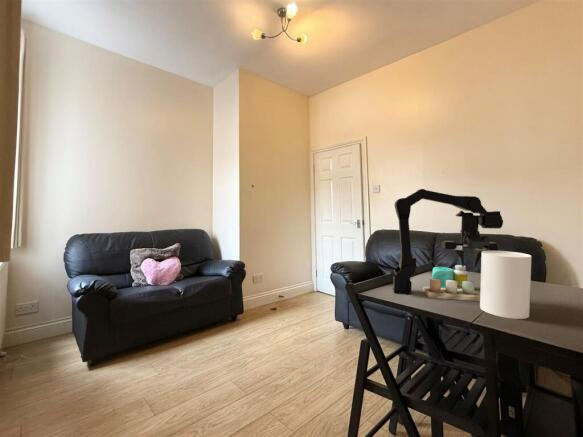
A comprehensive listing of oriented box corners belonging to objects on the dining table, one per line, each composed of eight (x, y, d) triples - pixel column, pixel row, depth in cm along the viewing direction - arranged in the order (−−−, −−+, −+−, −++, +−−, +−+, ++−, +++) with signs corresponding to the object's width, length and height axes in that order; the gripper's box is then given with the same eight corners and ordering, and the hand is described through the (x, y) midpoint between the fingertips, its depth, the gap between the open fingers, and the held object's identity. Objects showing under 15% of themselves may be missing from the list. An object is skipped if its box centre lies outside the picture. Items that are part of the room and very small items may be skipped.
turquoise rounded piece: (431, 286, 125) (432, 269, 125) (433, 282, 132) (433, 266, 132) (452, 289, 121) (452, 271, 121) (452, 285, 128) (453, 268, 127)
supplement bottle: (469, 289, 120) (469, 267, 120) (455, 289, 122) (455, 266, 121) (463, 286, 126) (464, 264, 125) (450, 285, 127) (451, 264, 126)
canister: (503, 303, 104) (504, 250, 103) (540, 317, 90) (542, 256, 89) (470, 305, 102) (472, 251, 101) (503, 320, 88) (506, 257, 88)
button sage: (464, 293, 110) (464, 283, 110) (460, 290, 114) (460, 280, 113) (475, 294, 109) (475, 284, 109) (471, 291, 113) (471, 281, 112)
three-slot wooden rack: (428, 297, 110) (428, 293, 110) (423, 290, 120) (423, 286, 120) (482, 301, 106) (483, 297, 106) (472, 293, 115) (473, 289, 115)
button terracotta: (431, 290, 113) (431, 281, 113) (428, 288, 117) (428, 278, 116) (441, 291, 112) (442, 281, 112) (439, 288, 116) (439, 279, 115)
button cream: (447, 292, 111) (447, 282, 111) (444, 289, 115) (444, 279, 115) (458, 292, 110) (458, 282, 110) (455, 289, 114) (455, 280, 114)
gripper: (449, 229, 105) (448, 270, 105) (507, 230, 100) (505, 273, 101) (441, 227, 115) (440, 264, 116) (493, 228, 111) (491, 266, 111)
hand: (468, 267), depth 111 cm, fingers open, 4 cm apart
